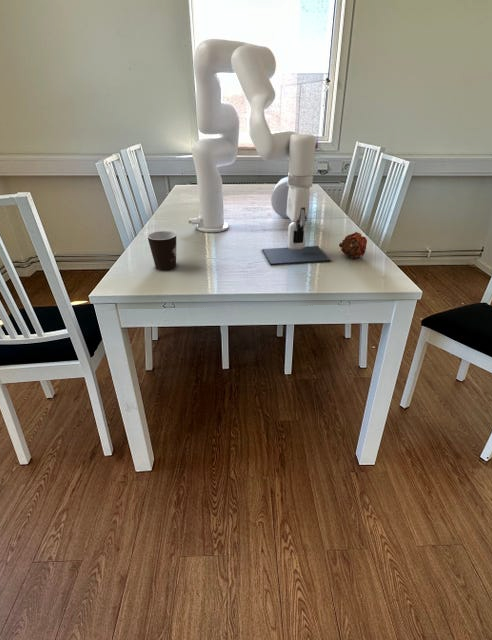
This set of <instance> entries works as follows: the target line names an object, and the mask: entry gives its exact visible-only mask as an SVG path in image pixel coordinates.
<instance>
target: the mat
mask: <svg viewBox="0 0 492 640" xmlns="http://www.w3.org/2000/svg"><path fill="white" fill-rule="evenodd" d="M262 252H263V254H264V256H265V258H266V260H267V261H268V263H269V265H270V266H281V265H282V266H283V265H284V266H285V265H296V264H297V265H298V264H314V263H328V262H329V263H331V259H330V258H329V256H327V255H326V253H325V252H324V251H323V250H322V249H321V247H319V246H318V245H312V246H311V245H309V246H308V245H307V246H305V247H304V248H302V249H296V250H292V249H289V248H288V247H272V248H262Z"/></svg>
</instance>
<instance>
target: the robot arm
mask: <svg viewBox="0 0 492 640" xmlns="http://www.w3.org/2000/svg"><path fill="white" fill-rule="evenodd" d="M276 62H277V61H276V57H275V55H274V53H273V51H272V50H271V49H270V48H269V47H268V46H263V45H258V44H253V43H248V42H244V41H238V40H229V39H219V38H209V39H205V40H203V41H201V42H200V43H199V44H198V45H197V47H196V49H195V51H194V55H193V71H194V76H195V84H196V86H195V87H196V93H195V94H196V97H195V98H196V103H195V105H196V111H195V113H196V114H195V115H196V117H195V118H196V126H197V129H198V131H199V132H200V133H201V134H203V135H210V136H211V135H218V137H206V138H201V139H198V140H197V141H195V143H194V144H193V146H192V148H191V155H192V160H193V164H194V168H195V176H196V184H197V186H196V188H197V196H198V197H197V198H198V212H199V213H198V216H196V217H194V218H193V217H189V218H188V219H187V220H188V224H191V225H196V230H197V231H199V232H203V233H221V232H224V231H226V230H228V229H229V224H228V223H227V222H225V216H224V215H225V214H224V212H225V211H224V190H223V189H224V188H223V187H224V186H223V185H224V184H223V178H222V176H221V173H220V172H219V170H218V168H219V167H225V166H231V165H233V164H234V163H235V161H236V160H237V157H238V151H239V137H240V136H239V135H240V116H239V112H238V110H237V107H236V106H235V105H234V104H233V103H231V102H228V101H227V102H226V101H223V87H222V83H221V80H220V78H219V76H218V75H219V74H221V75H234V76H235V78H236V80H237V82H238V84H239V86H240V87H239V88H240V90H241V91H242V93H243V96H244V98H245V100H246V103H247V105H248V106H249V111H248V112H249V113H248V117H247V118H248V119H247V126H248V127H247V129H248V134H249V137H250V140H251V141H252V144H253V146H254V148H255V150H256V152H257V154H258V156H259V157H260V158H261V159H262V160H264V161H265V162H275V161H283V160H288V166H287V167H288V168H287V173H288V174H287V177H288V186H289V190H288V200H287V212H286V213H287V216H288V217H289V218H288V219H290V224H291V223H293V222H295V230H294V237H293V242H294V243H303V237H304V226H305V225H306V222H307V221H308V220H309V214H310V195H311V194H310V193H311V192H310V190H311V189H310V188H312V187H313V183H314V182H313V181H314V169H315V168H314V167H315V157H316V156H315V154H316V144H317V143H316V142H317V139H316V137H315V135H314V134H310V133H298V132H296V131H291V130H286V131H285V130H283V131H271V129H270V127H269V125H268V122H267V120H266V117H265V111H266V110H267V109H268V108H269V107H271V105H273V103H274V101H275V100H276V90H275V88H274V87H273V84H272V82H271V79H272V78H273V77H274V76H275V74H276V69H277V63H276ZM298 219H300V220H298ZM298 223H300V224H298Z"/></svg>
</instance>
